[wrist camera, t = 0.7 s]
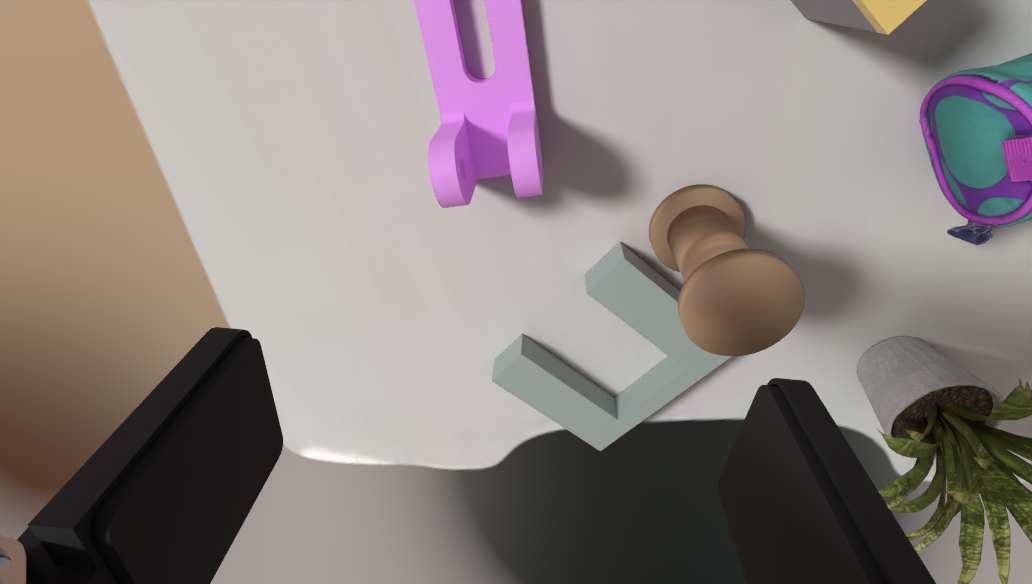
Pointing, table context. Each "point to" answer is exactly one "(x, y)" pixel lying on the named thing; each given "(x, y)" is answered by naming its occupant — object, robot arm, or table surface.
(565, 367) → the notched board
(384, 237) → the table surface
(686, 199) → the bobbin
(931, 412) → the house plant
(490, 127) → the bracket
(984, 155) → the pencil case
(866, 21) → the yellow and grey block
